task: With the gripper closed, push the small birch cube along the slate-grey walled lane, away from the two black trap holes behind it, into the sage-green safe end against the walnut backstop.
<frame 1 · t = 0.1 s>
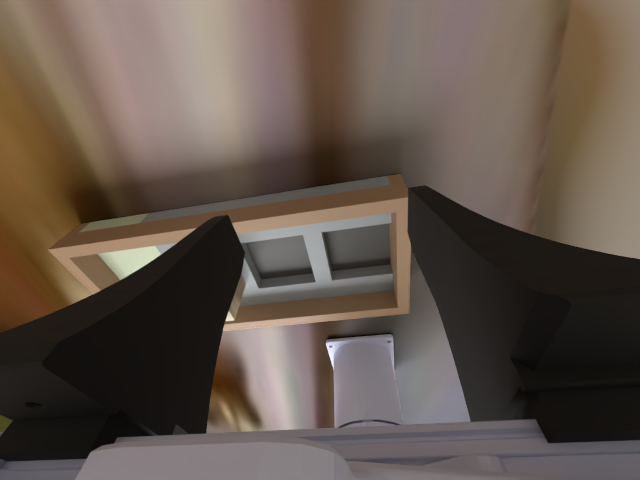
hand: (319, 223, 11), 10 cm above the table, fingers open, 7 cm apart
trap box: (252, 256, 26), on the table
birch cube: (217, 271, 25), point 1 cm above the table, touching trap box
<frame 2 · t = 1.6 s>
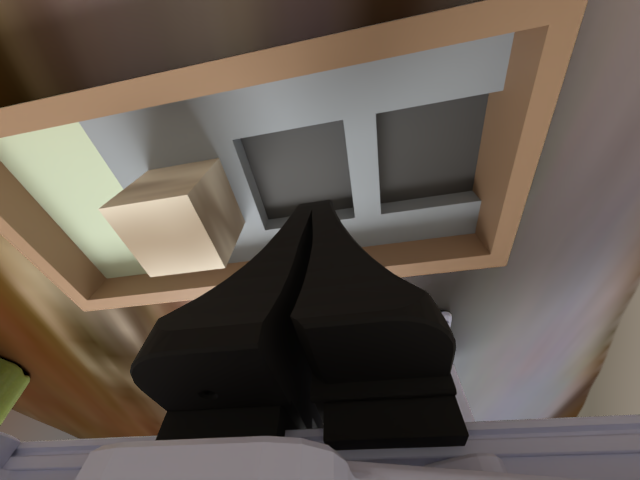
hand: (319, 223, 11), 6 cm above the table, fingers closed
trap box: (256, 178, 16), on the table
birch cube: (199, 197, 15), point 1 cm above the table, touching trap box
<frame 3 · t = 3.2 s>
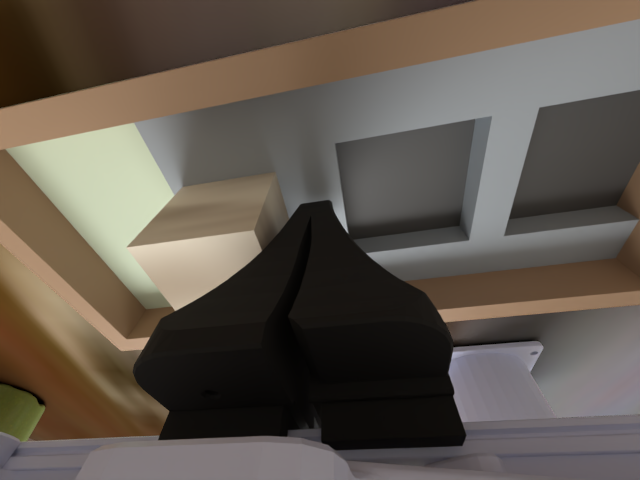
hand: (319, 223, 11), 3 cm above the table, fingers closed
plant pot: (7, 393, 28), on the table
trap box: (342, 190, 13), on the table
birch cube: (244, 220, 12), point 1 cm above the table, touching gripper, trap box
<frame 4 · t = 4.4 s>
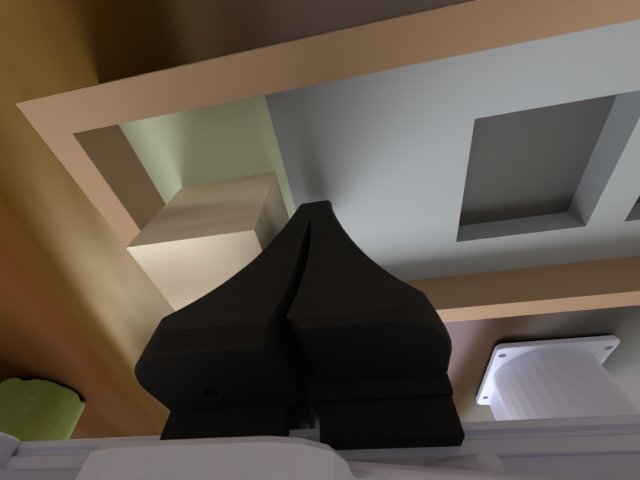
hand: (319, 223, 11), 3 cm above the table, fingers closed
plant pot: (47, 390, 27), on the table
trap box: (450, 174, 12), on the table
birch cube: (244, 220, 12), point 1 cm above the table, touching gripper, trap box
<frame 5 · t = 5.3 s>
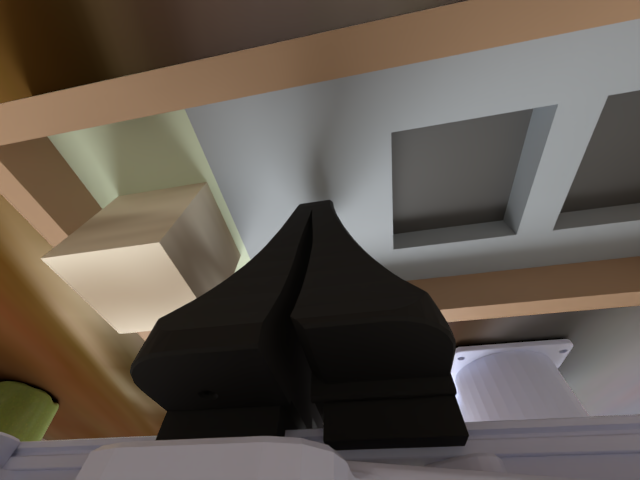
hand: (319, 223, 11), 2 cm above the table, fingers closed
plant pot: (20, 391, 27), on the table
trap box: (386, 183, 13), on the table
birch cube: (184, 228, 13), point 1 cm above the table, touching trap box
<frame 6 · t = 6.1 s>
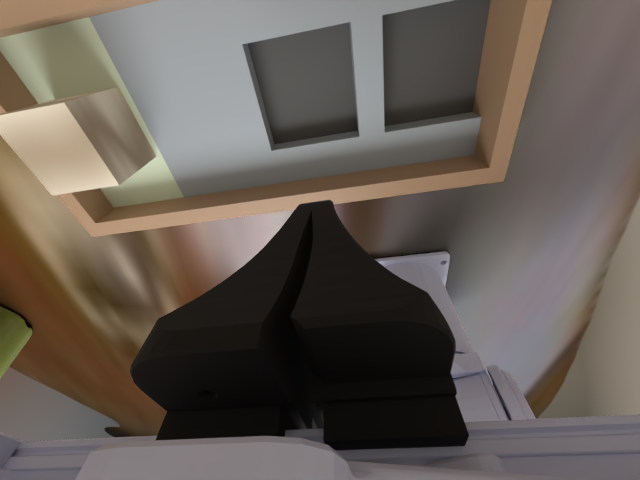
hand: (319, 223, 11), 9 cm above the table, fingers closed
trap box: (263, 97, 17), on the table
birch cube: (108, 129, 17), point 1 cm above the table, touching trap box
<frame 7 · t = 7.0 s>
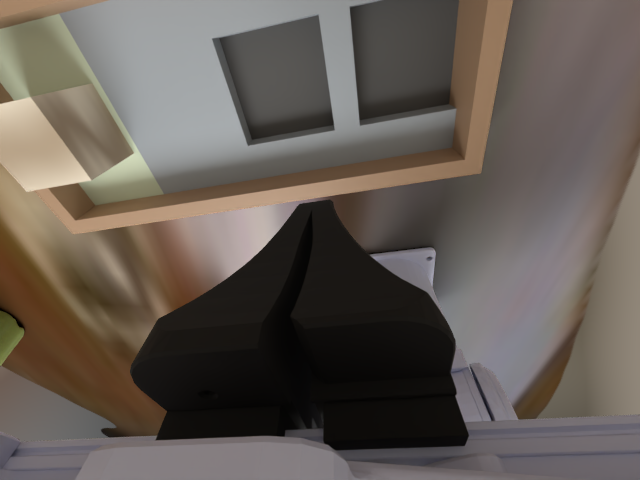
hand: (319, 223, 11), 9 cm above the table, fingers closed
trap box: (238, 93, 17), on the table
birch cube: (85, 126, 17), point 1 cm above the table, touching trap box
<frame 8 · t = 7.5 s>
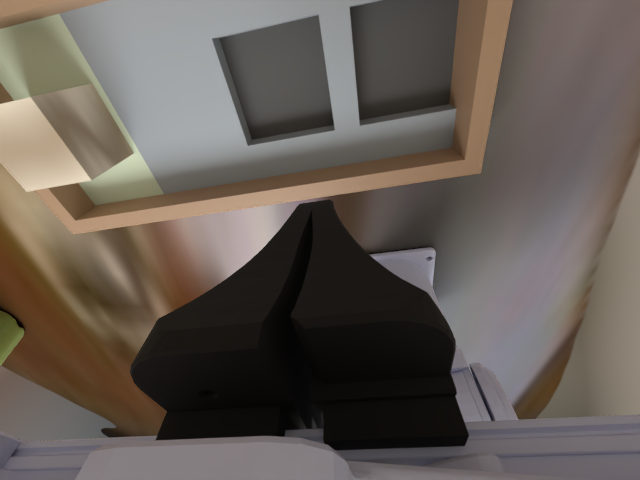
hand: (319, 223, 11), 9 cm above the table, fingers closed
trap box: (238, 93, 17), on the table
birch cube: (85, 126, 17), point 1 cm above the table, touching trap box
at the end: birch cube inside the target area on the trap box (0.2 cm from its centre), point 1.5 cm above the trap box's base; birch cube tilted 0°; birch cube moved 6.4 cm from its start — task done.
